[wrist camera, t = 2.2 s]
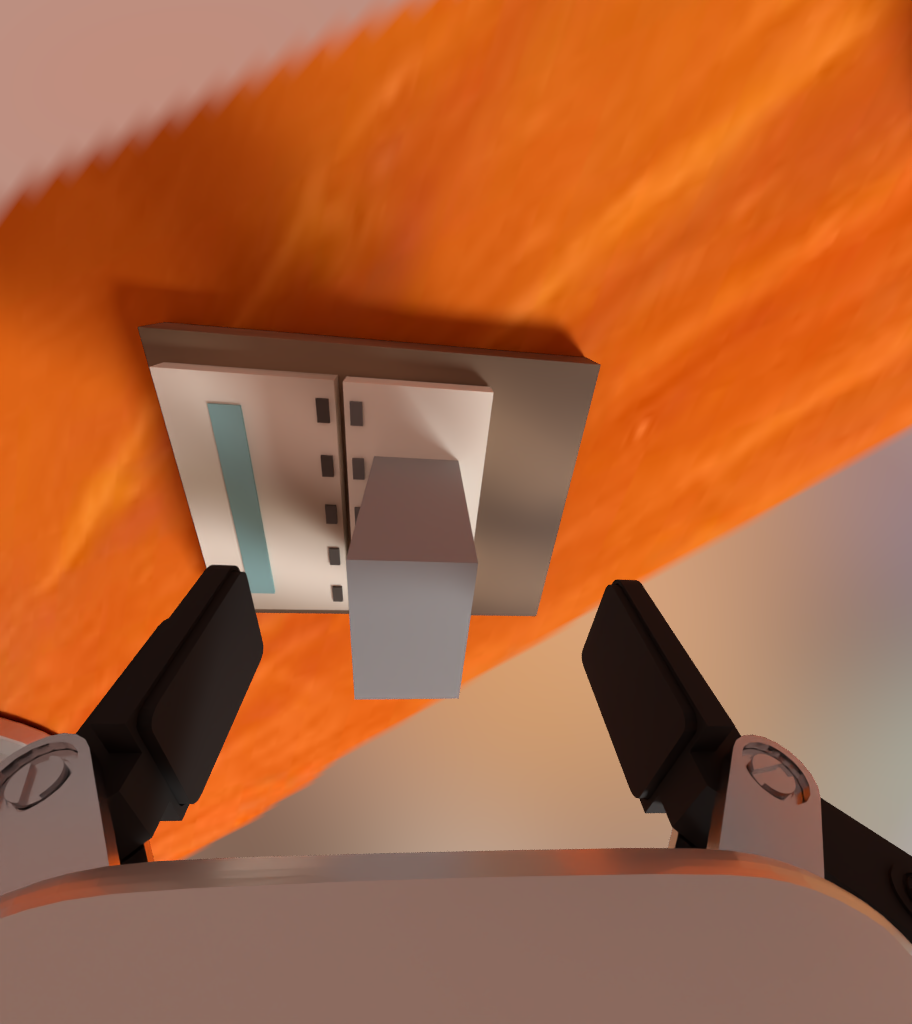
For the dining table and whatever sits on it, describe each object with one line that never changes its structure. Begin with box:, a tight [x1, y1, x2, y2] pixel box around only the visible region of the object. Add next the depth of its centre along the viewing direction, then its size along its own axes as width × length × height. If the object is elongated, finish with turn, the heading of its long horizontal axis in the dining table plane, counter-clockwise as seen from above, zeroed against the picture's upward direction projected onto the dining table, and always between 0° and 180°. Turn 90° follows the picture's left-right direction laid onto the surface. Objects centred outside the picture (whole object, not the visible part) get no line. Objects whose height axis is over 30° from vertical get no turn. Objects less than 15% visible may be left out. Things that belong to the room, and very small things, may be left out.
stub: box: [343, 376, 494, 699], centre depth 13 cm, size 10×5×7 cm, turn 175°
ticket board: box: [138, 322, 600, 616], centre depth 16 cm, size 12×15×2 cm
